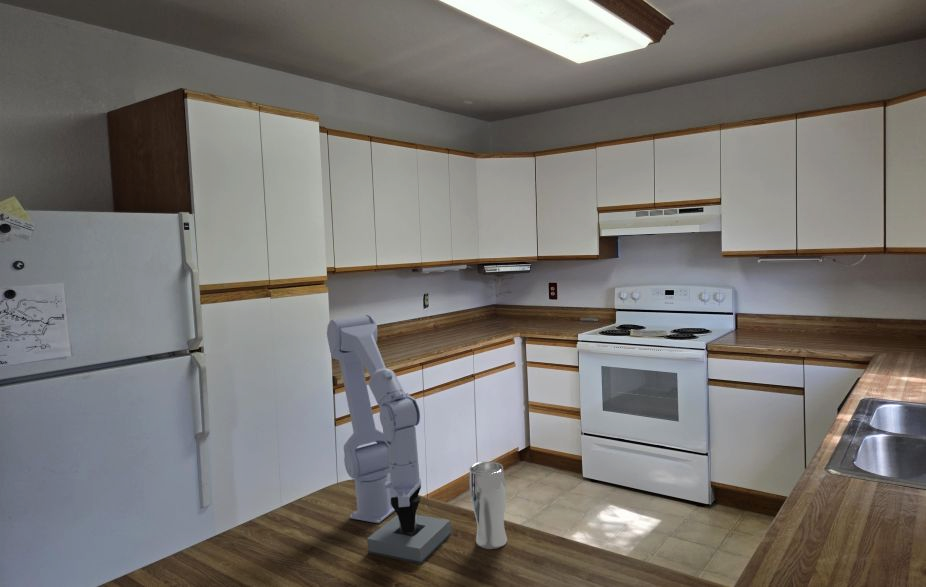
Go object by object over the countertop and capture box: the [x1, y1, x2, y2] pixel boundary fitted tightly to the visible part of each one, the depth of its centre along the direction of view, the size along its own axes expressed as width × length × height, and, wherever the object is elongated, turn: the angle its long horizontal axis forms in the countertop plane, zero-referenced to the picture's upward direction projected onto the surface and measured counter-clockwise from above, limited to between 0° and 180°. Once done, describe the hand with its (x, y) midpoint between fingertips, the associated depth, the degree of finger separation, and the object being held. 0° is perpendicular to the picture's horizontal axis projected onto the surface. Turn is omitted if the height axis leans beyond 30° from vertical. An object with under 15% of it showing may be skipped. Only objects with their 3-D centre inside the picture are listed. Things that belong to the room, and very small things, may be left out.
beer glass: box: [469, 461, 508, 550], centre depth 122 cm, size 7×7×15 cm
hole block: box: [366, 514, 452, 565], centre depth 124 cm, size 12×12×3 cm
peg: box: [398, 516, 418, 537], centre depth 124 cm, size 4×4×7 cm
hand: (409, 526), depth 124 cm, fingers open, 4 cm apart
